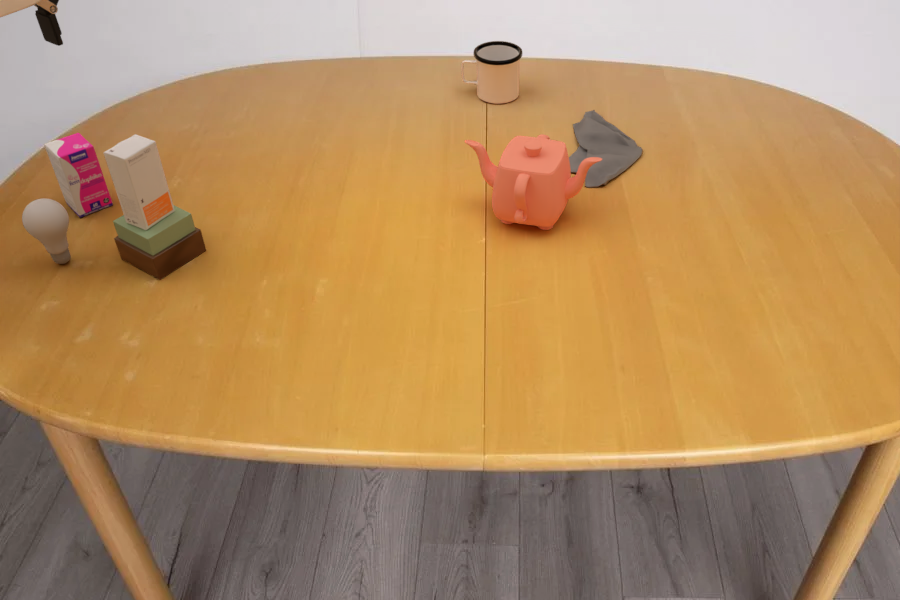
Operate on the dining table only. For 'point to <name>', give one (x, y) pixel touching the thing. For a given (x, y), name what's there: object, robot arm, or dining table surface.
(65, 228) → the lightbulb
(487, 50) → the mug
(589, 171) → the cloth
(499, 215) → the teapot
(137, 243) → the green block
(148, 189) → the cosmetic box
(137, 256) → the walnut block
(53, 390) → the dining table surface
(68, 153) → the supplement box
